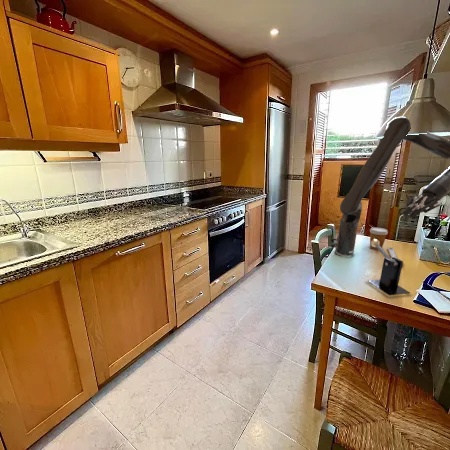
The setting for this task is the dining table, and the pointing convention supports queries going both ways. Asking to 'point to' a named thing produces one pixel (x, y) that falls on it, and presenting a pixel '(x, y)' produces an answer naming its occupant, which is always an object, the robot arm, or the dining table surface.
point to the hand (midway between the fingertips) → (407, 215)
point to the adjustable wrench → (392, 253)
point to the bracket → (390, 278)
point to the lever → (376, 244)
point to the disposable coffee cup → (378, 236)
